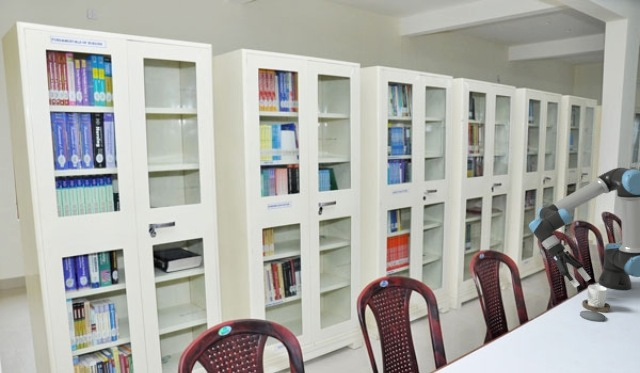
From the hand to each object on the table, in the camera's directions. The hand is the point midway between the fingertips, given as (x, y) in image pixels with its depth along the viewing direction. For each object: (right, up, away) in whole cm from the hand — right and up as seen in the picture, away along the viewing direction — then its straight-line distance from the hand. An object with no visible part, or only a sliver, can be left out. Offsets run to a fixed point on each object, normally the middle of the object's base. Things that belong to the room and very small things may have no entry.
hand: (583, 283), depth 226 cm
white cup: (+5, -11, -2) cm, 13 cm away
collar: (+5, -11, -2) cm, 12 cm away
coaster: (-3, -13, -13) cm, 19 cm away
